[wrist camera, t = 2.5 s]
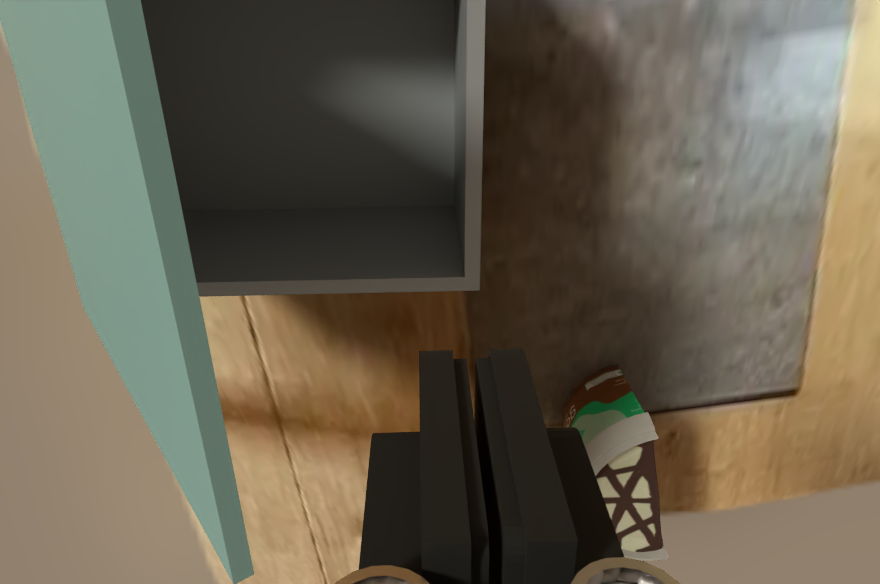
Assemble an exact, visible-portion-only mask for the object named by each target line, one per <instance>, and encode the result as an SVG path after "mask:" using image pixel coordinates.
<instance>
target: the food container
mask: <svg viewBox="0 0 880 584" xmlns="http://www.w3.org/2000/svg"><path fill="white" fill-rule="evenodd" d="M562 421H563V427H564V428H571V427H575V428H577V429H578V431H579V433H580V435H581V437H582V440H583V443H584V445H585V448H586V451H587V454H588V457H589V459H590V462H591V465H592V468H593V470H594V473H595V476H596V479H597V482H598V484H599V487H600V490H601V493H602V496H603V498H604V501H605V504H606V507H607V509H608V512H609V515H610V518H611V521H612V523H613V526H614V529H615V532H616V535H617V537H618V540H619V543H620V546H621V549H622V551H623V554H624V557H627V558H631V559H637V560H662V559H669V558H668V556H667V553H666V550H665V548H664V545H663V542H662V541H663V540H662V536H661V527H660V509H659V492H658V484H657V476H656V467H655V457H654V446H653V440H656V439H659V438H658V436H657V434H656V432H655V427H654V425H653V422H652V420H651V418H650V415H649V413H648V412H646V413H645V412H644V411H643V409H642V407H641V405H640V403H639V402H638V400H637V398H636V396H635V395H634V393H633V391H632V389H631V388H630V386H629V384H628V382H627V380H626V379H625V377H624V375H623V373H622V372H621V370H620V368H619V366H618V365H614V366H610V367H607V368H603V369H601V370H599V371H597V372H595V373H594V374H592V375H590V376H588V377H586V378H585V379H584V380H583V381H582V382H581V383H579V384H578V385H577V386H576V387H575V388H574V389H573V390H572V392H571V393H570V395H569V397H568V399H567V401H566V402H565V404H564V409H563V414H562Z"/></svg>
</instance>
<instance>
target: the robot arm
mask: <svg viewBox="0 0 880 584" xmlns="http://www.w3.org/2000/svg"><path fill="white" fill-rule="evenodd" d="M419 376H420V432H398V433H373V434H372V439H371V448H370V458H369V469H368V479H367V490H366V500H365V511H364V521H363V531H362V542H361V552H360V563H359V570H357V571H354V572H352V573H350V574H349V575H347V576H345V577H344V578H342V579H340V580H339V581H337V582H336V583H335V584H680V583H679V582H678V581H677V580H675V579H674V578H673V577H671V576H670V575H669V574H667V573H666V572H665V571H663V570H662V569H659V568H657V567H655V566H653V565H651V564H648V563H646V562H644V561H639V560H635V559H630V558H626V557H624V554H623V551H622V549H621V546H620V543H619V540H618V537H617V535H616V532H615V529H614V526H613V523H612V521H611V518H610V515H609V512H608V509H607V507H606V504H605V501H604V498H603V496H602V493H601V490H600V487H599V484H598V482H597V479H596V476H595V473H594V470H593V468H592V465H591V462H590V459H589V457H588V454H587V451H586V448H585V445H584V443H583V440H582V437H581V435H580V433H579V431H578V429H577V428H575V427H571V428H546V427H545V424H544V420H543V417H542V413H541V410H540V406H539V403H538V399H537V396H536V392H535V389H534V385H533V382H532V378H531V375H530V371H529V368H528V364H527V361H526V357H525V354H524V351H523V349H489V351H488V358H476V363H475V419H474V417H473V409H472V401H471V394H470V386H469V378H468V371H467V363H466V359H453V351H452V350H444V351H419Z"/></svg>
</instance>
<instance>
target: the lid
mask: <svg viewBox="0 0 880 584" xmlns="http://www.w3.org/2000/svg"><path fill="white" fill-rule="evenodd" d="M0 21H1V25H2V28H3V32H4V35H5V39H6V42H7V45H8V49H9V52H10V56H11V59H12V63H13V66H14V70H15V73H16V76H17V80H18V83H19V87H20V90H21V94H22V97H23V101H24V104H25V108H26V111H27V114H28V118H29V121H30V125H31V128H32V132H33V135H34V139H35V142H36V145H37V149H38V152H39V156H40V159H41V163H42V166H43V170H44V173H45V176H46V180H47V183H48V187H49V190H50V194H51V197H52V201H53V204H54V207H55V211H56V214H57V218H58V221H59V225H60V228H61V232H62V235H63V238H64V242H65V245H66V249H67V252H68V256H69V259H70V262H71V266H72V269H73V273H74V276H75V280H76V283H77V287H78V290H79V293H80V297H81V300H82V304H83V307H84V309H85V311H86V313H87V315H88V317H89V319H90V321H91V322H92V324H93V326H94V328H95V330H96V332H97V334H98V335H99V337H100V339H101V341H102V343H103V345H104V346H105V348H106V350H107V352H108V354H109V355H110V357H111V359H112V361H113V363H114V365H115V367H116V369H117V370H118V372H119V374H120V376H121V378H122V379H123V381H124V383H125V385H126V387H127V389H128V391H129V392H130V394H131V396H132V398H133V400H134V402H135V404H136V405H137V407H138V409H139V411H140V413H141V415H142V416H143V418H144V420H145V422H146V424H147V426H148V427H149V429H150V431H151V433H152V435H153V437H154V439H155V440H156V442H157V444H158V446H159V448H160V450H161V451H162V453H163V455H164V457H165V459H166V461H167V463H168V464H169V466H170V468H171V470H172V472H173V474H174V475H175V477H176V479H177V481H178V483H179V485H180V486H181V488H182V490H183V492H184V494H185V496H186V498H187V499H188V501H189V503H190V505H191V507H192V509H193V510H194V512H195V514H196V516H197V518H198V520H199V521H200V523H201V525H202V527H203V529H204V531H205V533H206V534H207V536H208V538H209V540H210V542H211V544H212V545H213V547H214V549H215V551H216V553H217V555H218V556H219V558H220V560H221V562H222V564H223V566H224V568H225V569H226V571H227V573H228V575H229V577H230V579H231V580H232V582H233V584H236V583H238V582H240V581H242V580H244V579H246V578H248V577H250V576H252V575H253V574H254V571H253V566H252V561H251V556H250V551H249V546H248V541H247V536H246V531H245V526H244V521H243V516H242V511H241V506H240V500H239V495H238V490H237V485H236V480H235V475H234V470H233V465H232V460H231V455H230V450H229V445H228V440H227V435H226V430H225V425H224V420H223V414H222V409H221V404H220V399H219V394H218V389H217V384H216V379H215V374H214V369H213V364H212V359H211V354H210V349H209V344H208V339H207V334H206V329H205V323H204V318H203V313H202V308H201V303H200V298H199V293H198V288H197V283H196V278H195V273H194V268H193V263H192V258H191V253H190V248H189V243H188V238H187V232H186V227H185V222H184V217H183V212H182V207H181V202H180V197H179V192H178V187H177V182H176V177H175V172H174V167H173V162H172V157H171V152H170V147H169V141H168V136H167V131H166V126H165V121H164V116H163V111H162V106H161V101H160V96H159V91H158V86H157V81H156V76H155V71H154V66H153V61H152V55H151V50H150V45H149V40H148V35H147V30H146V25H145V20H144V15H143V10H142V5H141V0H0Z"/></svg>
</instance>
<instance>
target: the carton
mask: <svg viewBox="0 0 880 584" xmlns="http://www.w3.org/2000/svg"><path fill="white" fill-rule="evenodd" d="M141 5H142V10H143V15H144V20H145V25H146V30H147V35H148V40H149V45H150V50H151V55H152V61H153V66H154V71H155V76H156V81H157V86H158V91H159V96H160V101H161V106H162V111H163V116H164V121H165V126H166V131H167V136H168V141H169V147H170V152H171V157H172V162H173V167H174V172H175V177H176V182H177V187H178V192H179V197H180V202H181V207H182V212H183V217H184V222H185V227H186V232H187V238H188V243H189V248H190V253H191V258H192V263H193V268H194V273H195V278H196V283H197V288H198V293H199V296H245V295H292V294H339V293H386V292H433V291H480V255H481V205H482V156H483V106H484V57H485V7H486V0H141Z"/></svg>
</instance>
